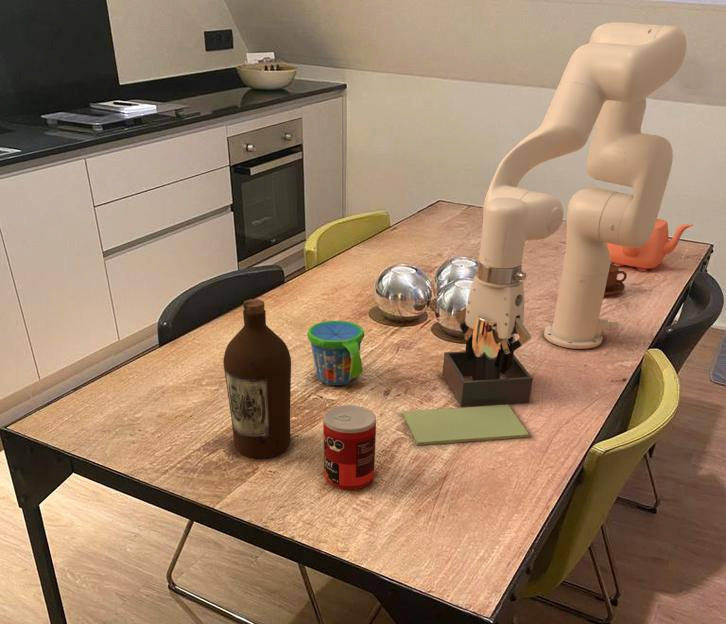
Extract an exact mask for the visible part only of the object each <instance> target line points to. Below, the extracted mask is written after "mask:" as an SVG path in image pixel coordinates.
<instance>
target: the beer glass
mask: <svg viewBox="0 0 726 624" xmlns="http://www.w3.org/2000/svg"><path fill="white" fill-rule="evenodd" d="M501 342H502V339H500V338H499V337H498V331H497V322H496V321H488V320H484V319H482V318H480V317H479V316H477V315H476V318H475V322H474V327H473V333H472V357H473V373H472V375H471V378H470V380H469V381H475V380H491V379H501V373H500V372H499V371H498V369H499V361H500V354H501V353H502V352H504V350H503V347H502V343H501ZM508 342H509V339H508Z"/></svg>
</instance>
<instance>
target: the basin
mask: <svg viewBox="0 0 726 624" xmlns="http://www.w3.org/2000/svg"><path fill="white" fill-rule="evenodd" d="M465 357H466V353H465V350H464V351H463V350H462V351H445V352H444V354H443V364H442V377H443V379H444V381H445V382H446V384H447V386H448V387H449V389H450V391H451V392H452V395H453V396H454V397H455V399H456V401H457V403H458V404H459V406H460V408H466V407H480V406H495V405H510V404H525V403H530V401H531V396H532V395H531V393H532V389H533V388H532V387H533V381H534V378H533V376H532V375H531V374H530V373H529V371H528V370H527V368H525V366H524V365H523V364H522V362H521V361H520V360H519V359H518V358H517V356H516V355H515V353H514V354H513V361H512V366H511V367H510V369H508V370H507V371H505V372H503V373H502V374H504V375H505V376H506V378H500V379H491V380H475V381H470V380H466V378H465V377H466V376H472V373H473V359H471V360H469V361H467V360H465ZM464 376H465V377H464Z"/></svg>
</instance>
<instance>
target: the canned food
mask: <svg viewBox="0 0 726 624" xmlns="http://www.w3.org/2000/svg"><path fill="white" fill-rule="evenodd" d="M376 419H377V417H376V414H375V413H374V412H373V411H372V410H370V409H368V408H366V407H363V406H359V405H351V404H350V405H349V404H348V405H339V406H335V407H332V408H329V409H328V410H326V412H325V413H324V415H323V421H322V422H323V425H322V426H323V427H322V429H323V430H322V431H323V435H322V436H323V474H324V478H325V480H326V482H327V483H328V484H330V485H331V486H333V487H335V488H337V489H340V490H349V491H350V490H359V489H362V488H365V487H367V486H368V485H370V484H371V483H372V481H373V478H374V477H375V465H376V464H375V462H376V438H377V437H376V436H377V435H376V434H377V420H376Z"/></svg>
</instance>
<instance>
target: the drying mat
mask: <svg viewBox="0 0 726 624" xmlns="http://www.w3.org/2000/svg"><path fill="white" fill-rule="evenodd" d="M402 415H403V417H404V419H405V422H406V425H407V426H408V428H409V431H410V433H411V435H412V438H413V440H414V442H415V444H416V446H428V445H440V444H441V445H442V444H453V443H454V444H456V443H467V442H482V441H494V440H509V439H522V438H523V439H524V438H529V437H530V433H529V432H528V431H527V429H526V427H524V425H523V423H522V422H521V421H520V419H519V418H518V416H517V415H516V414H515V412H514V411H513V409H512V408H511V406H510V404H497V405H482V406H467V407H453V408H439V409H424V410H423V409H422V410H409V411H407V410H406V411H403V412H402Z"/></svg>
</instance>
